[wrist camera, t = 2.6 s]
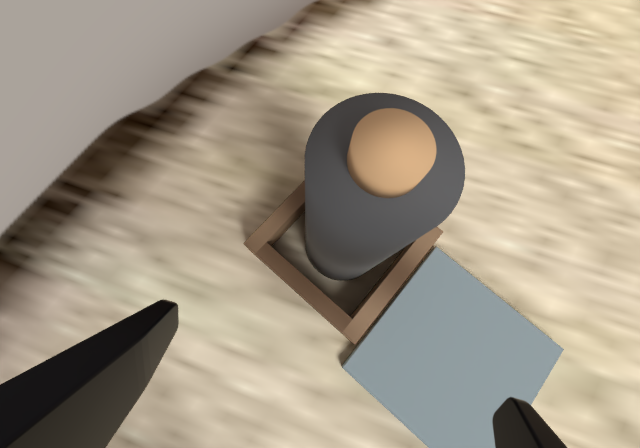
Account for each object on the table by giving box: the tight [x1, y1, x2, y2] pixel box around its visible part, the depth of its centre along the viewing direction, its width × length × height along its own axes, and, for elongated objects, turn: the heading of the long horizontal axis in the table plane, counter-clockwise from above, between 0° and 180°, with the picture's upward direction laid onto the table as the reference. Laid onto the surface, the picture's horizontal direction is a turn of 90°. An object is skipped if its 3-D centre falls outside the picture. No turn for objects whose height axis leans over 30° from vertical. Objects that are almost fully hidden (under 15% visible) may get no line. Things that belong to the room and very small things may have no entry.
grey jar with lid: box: [305, 93, 465, 280], centre depth 15 cm, size 5×5×14 cm
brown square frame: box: [243, 180, 443, 344], centre depth 21 cm, size 9×9×2 cm
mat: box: [342, 247, 564, 448], centre depth 20 cm, size 10×10×1 cm
